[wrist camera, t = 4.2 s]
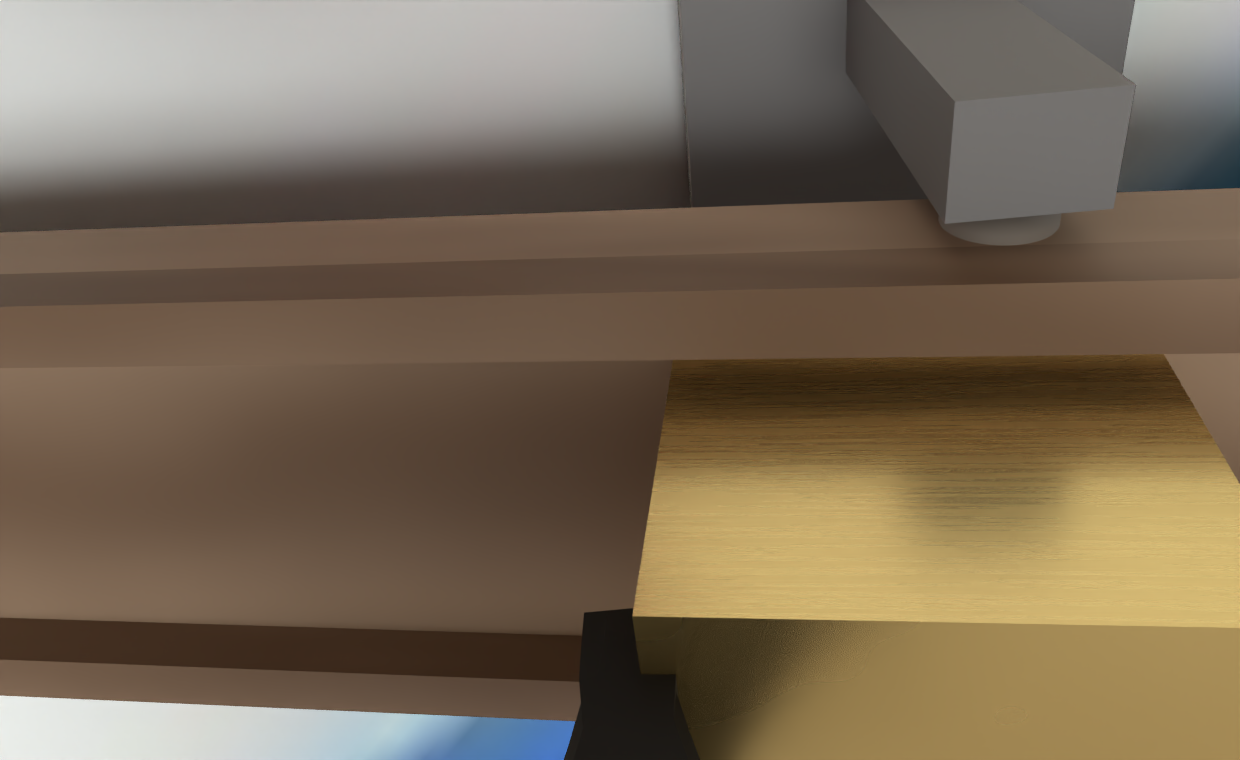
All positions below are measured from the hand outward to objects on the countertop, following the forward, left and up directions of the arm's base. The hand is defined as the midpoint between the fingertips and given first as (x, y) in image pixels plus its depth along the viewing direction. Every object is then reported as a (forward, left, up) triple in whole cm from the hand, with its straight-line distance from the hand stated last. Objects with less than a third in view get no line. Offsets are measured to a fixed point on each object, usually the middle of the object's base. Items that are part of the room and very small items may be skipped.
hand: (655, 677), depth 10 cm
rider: (0, -3, -3) cm, 4 cm away
